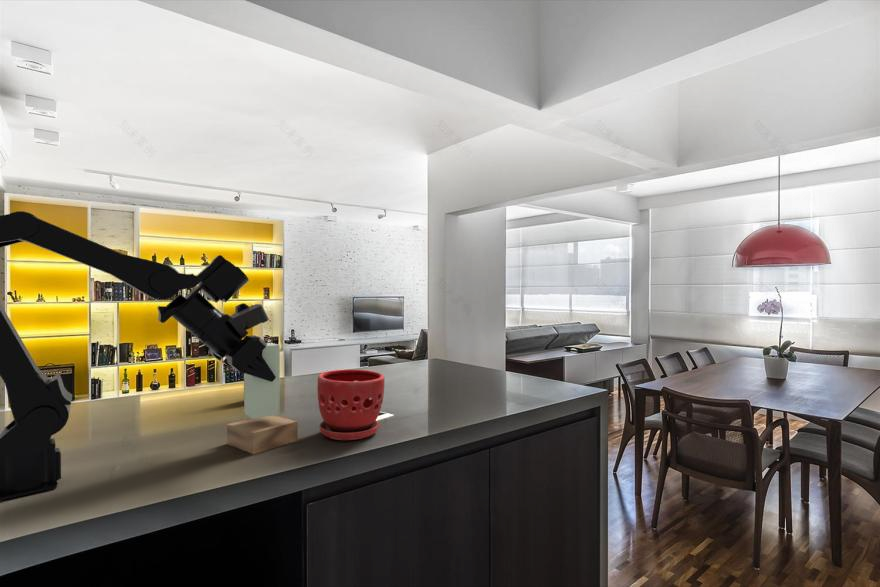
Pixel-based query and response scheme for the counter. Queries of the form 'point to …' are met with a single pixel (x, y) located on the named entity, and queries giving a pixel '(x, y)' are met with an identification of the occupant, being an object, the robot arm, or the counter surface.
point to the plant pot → (350, 403)
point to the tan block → (261, 433)
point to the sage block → (264, 387)
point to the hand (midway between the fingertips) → (269, 377)
